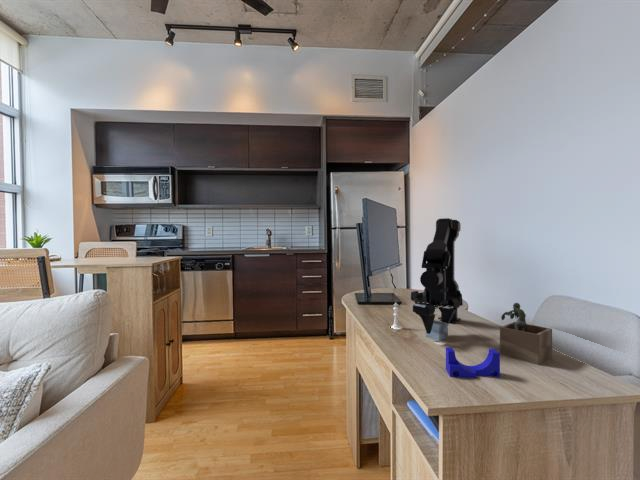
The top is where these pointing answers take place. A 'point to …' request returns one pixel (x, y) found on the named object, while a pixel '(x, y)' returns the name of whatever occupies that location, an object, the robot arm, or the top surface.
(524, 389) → the top surface
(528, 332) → the open brown box
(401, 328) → the chess piece
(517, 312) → the zombie figurine
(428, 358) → the top surface
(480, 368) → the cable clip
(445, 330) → the blue cube
